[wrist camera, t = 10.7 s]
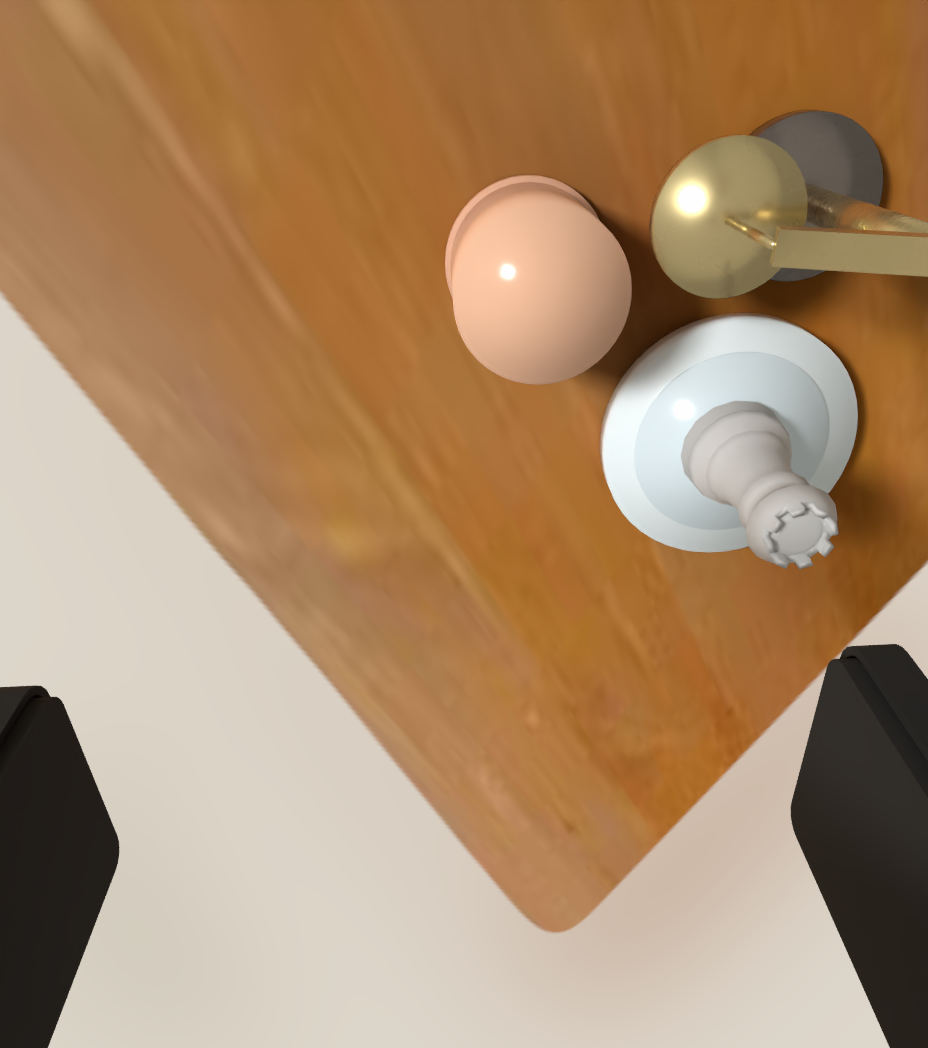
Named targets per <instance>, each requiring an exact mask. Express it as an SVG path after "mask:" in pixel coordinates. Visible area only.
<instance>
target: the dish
mask: <svg viewBox="0 0 928 1048" xmlns="http://www.w3.org/2000/svg"><path fill="white" fill-rule="evenodd" d="M732 401H750V402H757V403H759V404H761V405H763V406H765V407H767V408H769V409H771V410H772V411H773V412H774V414H775V415H776V417H777V418H778V419H779V421H780V422H781V423H782V425H783V427H784V428H785V429H786V431H787V432H788V433H789V437H790V443H791V450H792V458H791V466H790V467H791V469H792V471H793V473H795V474H797V475H799V476H802V477H804V478H805V479H806V480H807V482H808V483H809V484H810V486H814V487H816V488H818V489H820V490H823V491H825V492H827V493H829V492H830V491H831V489H832V488H833V487H834V485H835V484H836V482H837V481H838V479H839V478H840V476H841V474H842V472H843V470H844V468H845V466H846V464H847V462H848V460H849V457H850V455H851V452H852V449H853V446H854V442H855V437H856V432H857V421H858V410H857V399H856V395H855V391H854V387H853V384H852V381H851V379H850V377H849V374H848V372H847V370H846V369H845V367H844V366H843V364H842V362H841V361H840V359H839V358H838V357H837V356H836V355H835V354H834V353H833V352H832V350H831V349H830V348H829V347H827V346H826V345H825V344H824V343H822V342H821V341H820V340H819V339H817V338H816V337H815V336H813V335H812V334H810V333H809V332H808V331H806V330H805V329H803V328H801V327H799V326H798V325H796V324H794V323H792V322H790V321H787V320H784V319H782V318H779V317H776V316H771V315H766V314H762V313H749V312H740V313H726V314H721V315H715V316H710V317H707V318H704V319H700V320H697V321H694V322H692V323H689V324H687V325H685V326H683V327H681V328H678V329H676V330H675V331H673V332H671V333H670V334H668V335H666V336H665V337H663V338H661V339H660V340H659V341H657V342H656V343H655V344H653V345H652V346H651V347H650V348H648V349H647V350H646V351H645V352H644V353H643V354H642V355H641V356H640V357H639V358H638V359H637V360H636V361H635V362H634V363H633V364H632V365H631V366H630V368H629V369H628V370H627V371H626V373H625V374H624V375H623V377H622V378H621V380H620V381H619V383H618V385H617V386H616V388H615V389H614V391H613V394H612V396H611V398H610V400H609V402H608V404H607V407H606V410H605V414H604V417H603V420H602V426H601V432H600V448H599V449H600V458H601V465H602V469H603V472H604V476H605V479H606V481H607V484H608V486H609V488H610V491H611V493H612V495H613V498H614V500H615V502H616V503H617V505H618V507H619V508H620V510H621V511H622V513H623V514H624V515H625V516H626V517H627V519H628V520H629V521H630V522H631V523H632V524H633V525H634V526H635V527H637V528H638V529H639V530H640V531H641V532H643V533H644V534H646V535H648V536H649V537H651V538H652V539H654V540H656V541H659V542H661V543H663V544H665V545H668V546H671V547H675V548H678V549H682V550H688V551H694V552H722V551H729V550H735V549H741V548H744V547H748V542H747V537H746V532H745V531H746V529H745V527H744V526H743V525H742V524H741V522H740V518H739V513H738V510H737V509H736V508H735V507H734V506H730V505H727V504H721V503H718V502H716V501H714V500H712V499H710V498H707V497H705V496H704V495H702V494H701V493H700V491H699V490H698V489H697V488H696V487H695V486H694V484H693V483H692V482H691V481H690V480H689V478H688V477H687V476H686V475H685V473H684V469H683V465H682V460H681V452H682V447H683V443H684V438H685V436H686V435H687V433H688V432H689V430H690V429H691V427H692V426H693V424H694V423H695V421H696V420H697V419H699V418H700V417H701V416H703V415H704V414H705V413H707V412H708V411H710V410H711V409H712V408H714V407H716V406H720V405H723V404H726V403H729V402H732Z"/></svg>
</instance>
